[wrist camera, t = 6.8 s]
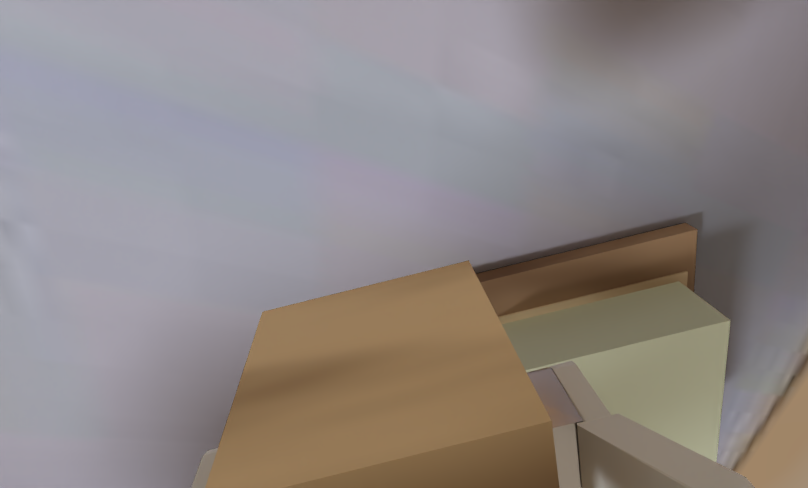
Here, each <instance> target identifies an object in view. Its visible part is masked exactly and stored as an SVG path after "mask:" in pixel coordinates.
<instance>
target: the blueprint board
mask: <svg viewBox="0 0 808 488" xmlns="http://www.w3.org/2000/svg"><path fill="white" fill-rule="evenodd" d="M696 246H697V229H696V228H694V227H692V226H690V225H689V224H687V223H682V224H678V225H674V226H670V227H666V228H662V229H658V230H654V231H650V232H646V233H641V234H637V235H633V236H629V237H625V238H621V239H617V240H613V241H609V242H605V243H600V244H596V245H592V246H588V247H584V248H580V249H576V250H572V251H568V252H564V253H559V254H555V255H551V256H547V257H543V258H539V259H535V260H531V261H527V262H523V263H518V264H514V265H510V266H506V267H502V268H498V269H494V270H490V271H486V272H481V273H477V274H476V276H477V277H478V279H479V281H480V283H481V285H482V287H483V289H484V291H485V293H486V295H487V297H488V299H489V301H490V303H491V305H492V306H493V308H494V310H495V312H496V314H497V316H498V318H499V320H500V322H501V324H505V323H509V322H514V321H518V320H522V319H526V318H530V317H534V316H538V315H542V314H546V313H551V312H555V311H559V310H563V309H567V308H571V307H575V306H579V305H583V304H587V303H592V302H596V301H600V300H604V299H608V298H612V297H616V296H620V295H624V294H628V293H633V292H637V291H641V290H645V289H649V288H653V287H657V286H661V285H665V284H670V283H674V282H678V281H679V282H681V283H682V284H683V285H685V286H686V287H687V288H689V289H690V290H691V291H693V292H694V281H695V263H696Z"/></svg>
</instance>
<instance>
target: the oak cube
mask: <svg viewBox="0 0 808 488" xmlns="http://www.w3.org/2000/svg"><path fill="white" fill-rule="evenodd" d="M205 488H560V487H559V479H558V471H557V462H556V454H555V445H554V437H553V429H552V421H551V419H550V417H549V415H548V413H547V411H546V409H545V407H544V405H543V403H542V401H541V399H540V397H539V396H538V394H537V392H536V390H535V388H534V386H533V384H532V382H531V380H530V378H529V376H528V374H527V372H526V370H525V368H524V366H523V365H522V363H521V361H520V359H519V357H518V355H517V353H516V351H515V349H514V347H513V345H512V343H511V341H510V339H509V337H508V336H507V334H506V332H505V330H504V328H503V326H502V324H501V322H500V320H499V318H498V316H497V314H496V312H495V310H494V308H493V306H492V305H491V303H490V301H489V299H488V297H487V295H486V293H485V291H484V289H483V287H482V285H481V283H480V281H479V279H478V277H477V276H476V274H475V272H474V270H473V268H472V266H471V264H470V262H469V261H465V262H461V263H457V264H453V265H449V266H445V267H441V268H437V269H433V270H429V271H425V272H421V273H417V274H413V275H409V276H405V277H401V278H397V279H393V280H389V281H385V282H381V283H377V284H373V285H369V286H365V287H360V288H356V289H352V290H348V291H344V292H340V293H336V294H332V295H328V296H324V297H320V298H316V299H312V300H308V301H304V302H300V303H296V304H292V305H288V306H284V307H280V308H276V309H272V310H268V311H264V312H262V315H261V318H260V321H259V324H258V327H257V330H256V334H255V337H254V340H253V343H252V346H251V349H250V352H249V355H248V358H247V361H246V364H245V367H244V370H243V373H242V376H241V379H240V382H239V386H238V389H237V392H236V395H235V398H234V401H233V404H232V407H231V410H230V413H229V416H228V419H227V422H226V425H225V428H224V431H223V434H222V438H221V441H220V444H219V447H218V450H217V453H216V456H215V459H214V462H213V465H212V468H211V471H210V474H209V477H208V480H207V483H206V486H205Z"/></svg>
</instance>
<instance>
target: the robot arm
mask: <svg viewBox="0 0 808 488" xmlns="http://www.w3.org/2000/svg"><path fill="white" fill-rule="evenodd" d="M527 374H528V376H529V378H530V380H531V382H532V384H533V386H534V388H535V390H536V392H537V394H538V396H539V397H540V399H541V401H542V403H543V405H544V407H545V409H546V411H547V413H548V415H549V417H550V419H551V421H552V429H553V437H554V445H555V454H556V462H557V471H558V479H559V487H560V488H755V487H754V486H753V485H752V484H751V483H750V482H749V481H748V479H747V478H746V477H744V476H742V475H740V474H738V473H736V472H734V471H732V470H730V469H728V468H726V467H724V466H722V465H720V464H718V463H716V462H714V461H712V460H710V459H708V458H706V457H704V456H702V455H700V454H698V453H696V452H694V451H692V450H690V449H688V448H686V447H684V446H682V445H680V444H678V443H676V442H674V441H672V440H670V439H668V438H666V437H664V436H662V435H660V434H658V433H656V432H654V431H652V430H650V429H648V428H646V427H644V426H642V425H640V424H638V423H636V422H634V421H632V420H630V419H628V418H626V417H624V416H622V415H620V414H614V415H611V414H610V413H609V411H608V410H607V408H606V407H605V405H604V404H603V403H602V401H601V400H600V398H599V397H598V395H597V394H596V392H595V391H594V389H593V388H592V387H591V385H590V384H589V382H588V381H587V379H586V378H585V376H584V375H583V374H582V372H581V371H580V369H579V368H578V366H577V365H576V363H574V362H573V361H569V362H565V363H561V364H557V365H553V366H549V367H546V368H543V369H539V370H535V371H531V372H527ZM217 450H218V448H216V449H212V450H208V451H207V452H206V453H205V454H204V455H203V457H202V459H201V462H200V465H199V468H198V470H197V473H196V476H195V479H194V481H193V484H192V487H191V488H205V486H206V483H207V480H208V477H209V474H210V471H211V468H212V465H213V462H214V459H215V456H216V453H217Z"/></svg>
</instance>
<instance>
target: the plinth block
mask: <svg viewBox="0 0 808 488" xmlns="http://www.w3.org/2000/svg"><path fill="white" fill-rule="evenodd" d="M730 321H731V320H730V319H728V318H727V317H726V316H724V315H723V314H722V313H720V312H719V311H718V310H716V309H715V308H714V307H712V306H711V305H710V304H708V303H707V302H706V301H704V300H703V299H702V298H700V297H699V296H698V295H696V294H695V293H694V292H693V291H691V290H690V289H689V288H687V287H686V286H685V285H683V284H682V283H681V282H679V281H678V282H674V283H670V284H665V285H661V286H657V287H653V288H649V289H645V290H641V291H637V292H633V293H628V294H624V295H620V296H616V297H612V298H608V299H604V300H600V301H596V302H592V303H587V304H583V305H579V306H575V307H571V308H567V309H563V310H559V311H555V312H551V313H546V314H542V315H538V316H534V317H530V318H526V319H522V320H518V321H514V322H509V323H505V324H502V326H503V328H504V330H505V332H506V334H507V336H508V337H509V339H510V341H511V343H512V345H513V347H514V349H515V351H516V353H517V355H518V357H519V359H520V361H521V363H522V365H523V366H524V368H525V370H526V372H531V371H535V370H539V369H543V368H546V367H549V366H553V365H557V364H561V363H565V362H569V361H573V362H574V363H576V365H577V366H578V368H579V369H580V371H581V372H582V374H583V375H584V376H585V378H586V379H587V381H588V382H589V384H590V385H591V387H592V388H593V389H594V391H595V392H596V394H597V395H598V397H599V398H600V400H601V401H602V403H603V404H604V405H605V407H606V408H607V410H608V411H609V413H610V414H611V415H614V414H620V415H622V416H624V417H626V418H628V419H630V420H632V421H634V422H636V423H638V424H640V425H642V426H644V427H646V428H648V429H650V430H652V431H654V432H656V433H658V434H660V435H662V436H664V437H666V438H668V439H670V440H672V441H674V442H676V443H678V444H680V445H682V446H684V447H686V448H688V449H690V450H692V451H694V452H696V453H698V454H700V455H702V456H704V457H706V458H708V459H710V460H712V461H714V462H716V461H717V451H718V441H719V431H720V421H721V411H722V401H723V391H724V381H725V371H726V361H727V351H728V341H729V331H730Z"/></svg>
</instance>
